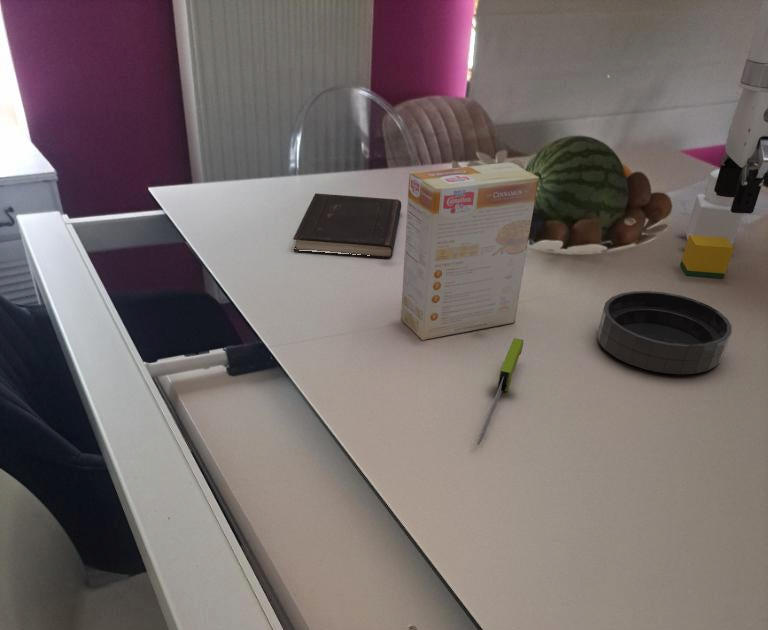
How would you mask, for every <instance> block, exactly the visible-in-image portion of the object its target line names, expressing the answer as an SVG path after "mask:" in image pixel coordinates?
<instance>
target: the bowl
mask: <svg viewBox="0 0 768 630" xmlns="http://www.w3.org/2000/svg"><path fill="white" fill-rule="evenodd" d="M597 328H598V329H597V333H596V337H597V340H598V343H599V344H600V346H601V347H602V348H603V349H604V351H606V352H607V353H609V354H610V355H612V356H613V357H614V358H616V359H618V360H620V361H621V362H623V363H626V364H628V365H631V366H634V367H635V368H639V369H642V370H646V371H650V372H654V373H661V374H668V375H669V374H671V375H694V374H700V373H703V372H707V371H710V370H712V369H714V368H715V367H717V366H718V365H719V363H720V362H721V361H722V360H723V357H724V354H725V352H726V348H727V346H728V344H729V341H730V338H731V336H732V330H733V327H732V324H731V322H730V320H729V319H728V317H726V315H724V314H723V313H722V312H720V311H719V310H718V309H716V308H714V307H713V306H711V305H708V304H707V303H705V302H701V301H699V300H697V299H693V298H690V297H687V296H683V295H680V294H676V293H669V292H665V291H650V290H637V291H629V292H622V293H619V294H616V295H614V296H611V297H610V298H609V299H607V301H605V303H604V306H603V309H602V313H601V318H600V321H599V325H598V327H597Z"/></svg>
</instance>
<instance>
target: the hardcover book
mask: <svg viewBox="0 0 768 630" xmlns="http://www.w3.org/2000/svg"><path fill="white" fill-rule="evenodd" d="M401 212H402V201H401V200H400V199H396V198H383V197H372V196H371V197H369V196H358V195H357V196H355V195H342V194H330V193H317V192H315V193H314V195H313V197H312V199H311V201H310V203H309V205H308V207H307V208H306V211H305V213H304V216H303V218H302V219H301V221H300V223H299V226H298V227H297V230H296V232H295V233H294V235H293V238H292V239H293V241H295V246H294V248H296V249H294V248H293V252H294V253H306V254H319V255H331V256H343V257H345V256H346V257H356V258H369V259H382V260H389V259H391V258H392V257H393V254H394V253H393V252H394V248H395V243H396V237H397V231H398V227H399V221H400V216H401ZM299 250H317V251H330V252H341V253H349V254H338V253H325V252H312V251H299ZM350 253H351V254H350ZM352 254H356V255H352ZM357 254H361V255H357ZM367 255H370V256H367Z"/></svg>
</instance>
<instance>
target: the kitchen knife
mask: <svg viewBox="0 0 768 630" xmlns="http://www.w3.org/2000/svg"><path fill="white" fill-rule="evenodd" d="M523 348H524V339H522V338H516V337H515V338H513V339H512V342H511V344H510V346H509V348H508V351H507V354H506V356H505V359H504V361H503V364H502V366H501V369H500V371H499V379H498V382H497V389H496V390H497V391H496V393H495V396H494V399H493V402H492V404H491V407H490V409H489V411H488V414H487V417H486V419H485V422H484V425H483V427H482V429H481V432H480V434H479V437H478V439H477V442H476V443H477V445H480V444H481V443H482V441H483V439H484V436H485V434H486V432H487V429H488V428H489V425H490V422H491V420H492V417H493V416H494V413H495V410H496V408H497V406H498V403H499V402H500V401H499V400H500V398H501V396H502V393H503V392H508V391H509V389H510V385H511V379H512V375H513V373H514V371H515V370H516V366H517V365H518V361H519V358H520V356H521V355H522V352H523Z"/></svg>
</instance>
